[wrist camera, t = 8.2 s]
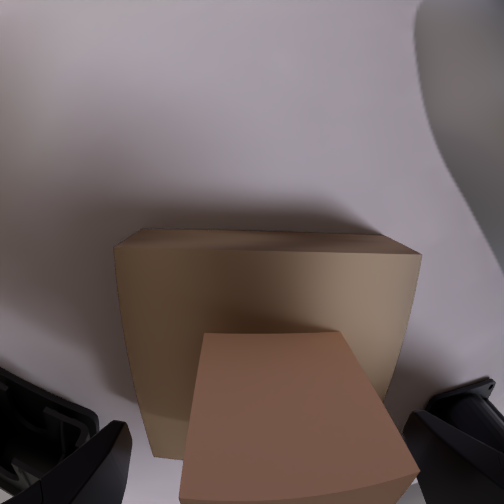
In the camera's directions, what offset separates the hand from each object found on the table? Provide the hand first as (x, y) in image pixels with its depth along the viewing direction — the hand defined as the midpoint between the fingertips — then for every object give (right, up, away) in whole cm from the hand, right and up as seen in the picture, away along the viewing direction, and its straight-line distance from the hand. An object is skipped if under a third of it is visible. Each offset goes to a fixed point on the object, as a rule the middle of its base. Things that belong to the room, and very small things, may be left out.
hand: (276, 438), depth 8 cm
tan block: (0, +1, +5) cm, 6 cm away
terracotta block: (0, +1, +2) cm, 3 cm away
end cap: (-15, -6, +7) cm, 17 cm away
